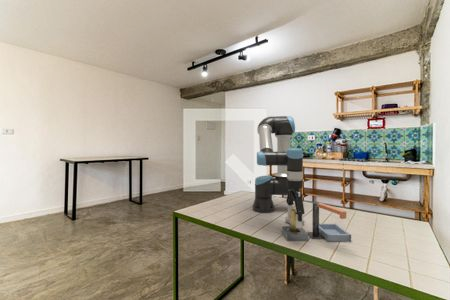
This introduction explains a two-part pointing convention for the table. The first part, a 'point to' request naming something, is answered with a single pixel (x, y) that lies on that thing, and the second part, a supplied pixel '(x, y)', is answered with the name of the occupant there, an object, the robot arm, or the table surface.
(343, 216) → the swing bar
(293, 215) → the pin
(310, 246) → the table surface
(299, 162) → the robot arm
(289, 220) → the rainbow disc toy
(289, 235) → the hitch block
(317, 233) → the gate post
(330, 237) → the tray
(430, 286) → the table surface
